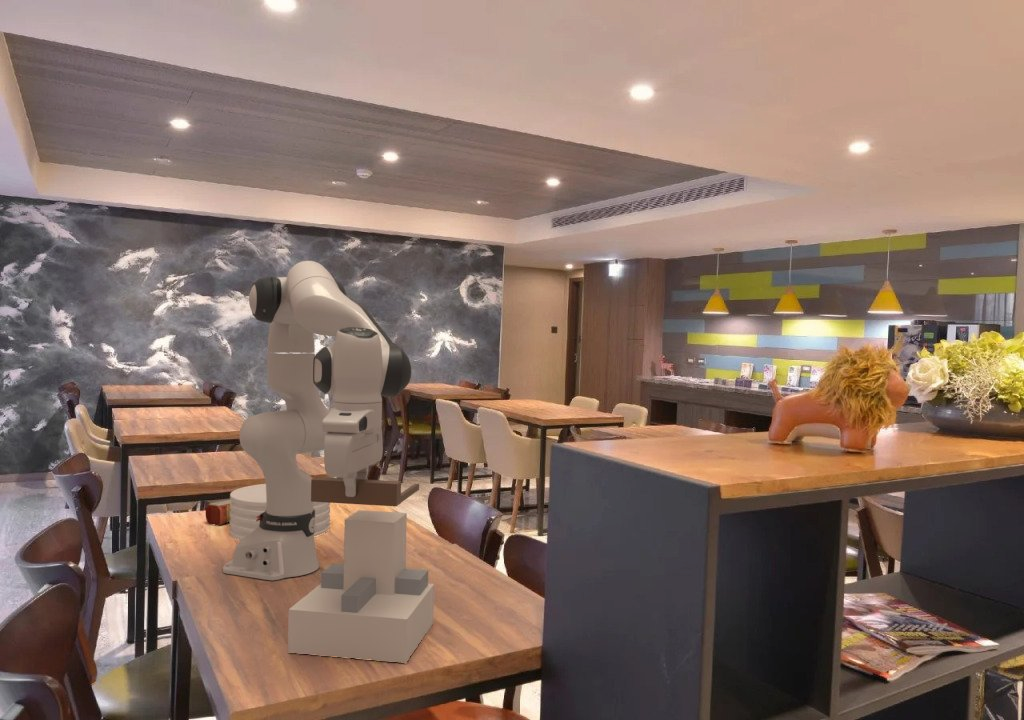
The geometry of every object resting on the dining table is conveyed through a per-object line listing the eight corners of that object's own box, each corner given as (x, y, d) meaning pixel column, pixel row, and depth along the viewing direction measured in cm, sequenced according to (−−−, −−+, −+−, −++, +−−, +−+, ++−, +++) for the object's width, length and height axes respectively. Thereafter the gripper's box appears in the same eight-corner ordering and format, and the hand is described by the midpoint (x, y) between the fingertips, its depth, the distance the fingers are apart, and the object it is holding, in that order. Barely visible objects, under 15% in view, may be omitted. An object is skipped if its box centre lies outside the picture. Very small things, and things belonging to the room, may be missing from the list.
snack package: (257, 510, 238) (257, 490, 238) (272, 513, 235) (272, 492, 235) (203, 524, 219) (204, 502, 219) (219, 527, 216) (220, 505, 216)
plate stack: (326, 516, 233) (326, 480, 232) (333, 540, 206) (334, 499, 206) (231, 521, 224) (232, 484, 223) (227, 547, 197) (227, 504, 197)
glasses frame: (310, 501, 132) (311, 479, 132) (342, 485, 147) (342, 465, 147) (396, 506, 130) (396, 484, 130) (419, 489, 145) (420, 469, 145)
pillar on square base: (287, 653, 132) (289, 532, 131) (329, 614, 151) (331, 508, 150) (406, 664, 129) (408, 540, 128) (433, 623, 147) (435, 514, 147)
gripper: (360, 411, 143) (359, 481, 143) (317, 422, 123) (316, 504, 123) (391, 412, 142) (390, 483, 142) (353, 424, 122) (352, 507, 122)
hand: (355, 493), depth 132 cm, fingers closed on glasses frame, 3 cm apart
